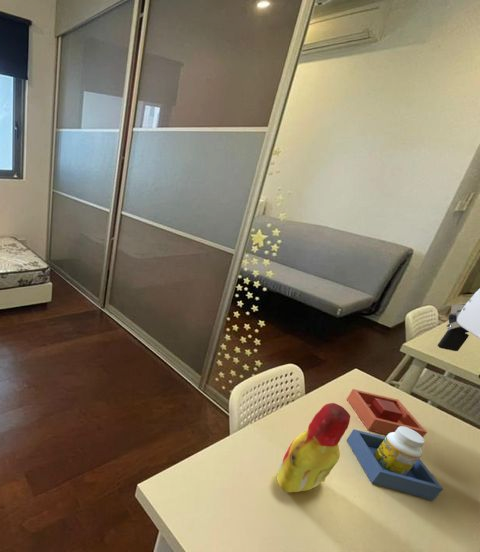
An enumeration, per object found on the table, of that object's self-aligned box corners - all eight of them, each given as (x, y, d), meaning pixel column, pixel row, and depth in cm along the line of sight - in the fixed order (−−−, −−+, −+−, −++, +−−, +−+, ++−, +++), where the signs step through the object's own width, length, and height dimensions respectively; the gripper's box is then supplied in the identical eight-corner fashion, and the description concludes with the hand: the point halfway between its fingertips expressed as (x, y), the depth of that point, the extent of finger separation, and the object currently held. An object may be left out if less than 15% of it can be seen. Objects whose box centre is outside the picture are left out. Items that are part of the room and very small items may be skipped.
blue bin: (399, 453, 72) (407, 442, 70) (433, 500, 63) (443, 489, 61) (346, 439, 74) (353, 428, 73) (371, 483, 65) (380, 471, 63)
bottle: (289, 506, 59) (336, 429, 50) (260, 474, 64) (298, 400, 56) (330, 486, 63) (379, 412, 55) (299, 457, 68) (340, 386, 60)
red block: (385, 413, 82) (393, 402, 81) (394, 425, 79) (403, 414, 77) (367, 409, 83) (375, 397, 81) (376, 421, 80) (384, 409, 78)
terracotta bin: (391, 409, 85) (398, 399, 83) (418, 443, 75) (427, 432, 74) (346, 398, 87) (352, 388, 85) (367, 430, 77) (375, 419, 76)
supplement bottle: (408, 483, 65) (435, 451, 61) (376, 469, 67) (399, 438, 63) (399, 462, 69) (423, 430, 65) (368, 450, 71) (390, 419, 67)
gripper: (622, 312, 45) (537, 402, 52) (507, 268, 60) (454, 343, 67) (555, 300, 46) (482, 390, 53) (459, 261, 62) (412, 334, 69)
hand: (466, 363), depth 60 cm, fingers open, 9 cm apart
